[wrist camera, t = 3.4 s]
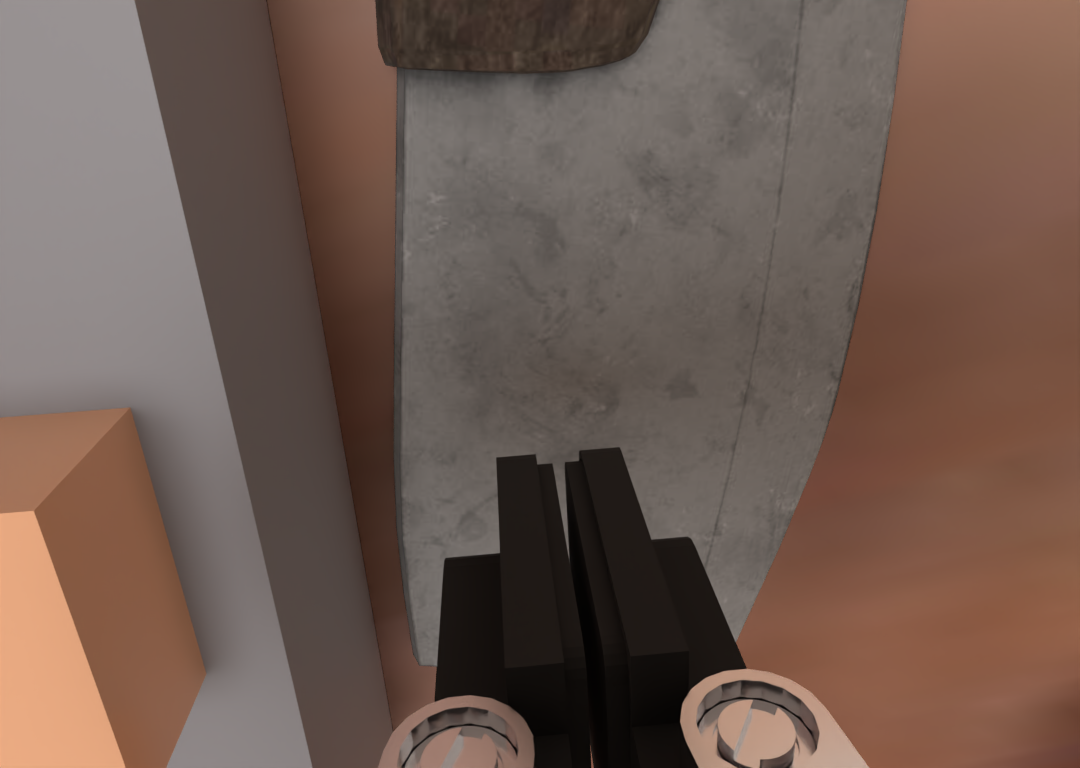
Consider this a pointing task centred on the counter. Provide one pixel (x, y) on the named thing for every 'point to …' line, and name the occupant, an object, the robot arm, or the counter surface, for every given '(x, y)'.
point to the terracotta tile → (88, 600)
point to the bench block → (193, 348)
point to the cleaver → (627, 259)
